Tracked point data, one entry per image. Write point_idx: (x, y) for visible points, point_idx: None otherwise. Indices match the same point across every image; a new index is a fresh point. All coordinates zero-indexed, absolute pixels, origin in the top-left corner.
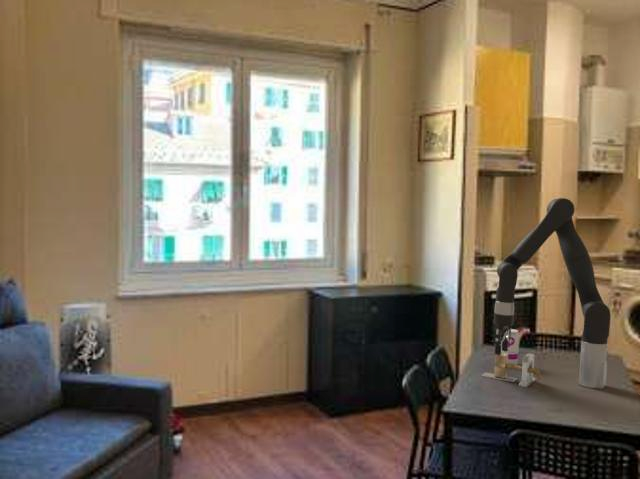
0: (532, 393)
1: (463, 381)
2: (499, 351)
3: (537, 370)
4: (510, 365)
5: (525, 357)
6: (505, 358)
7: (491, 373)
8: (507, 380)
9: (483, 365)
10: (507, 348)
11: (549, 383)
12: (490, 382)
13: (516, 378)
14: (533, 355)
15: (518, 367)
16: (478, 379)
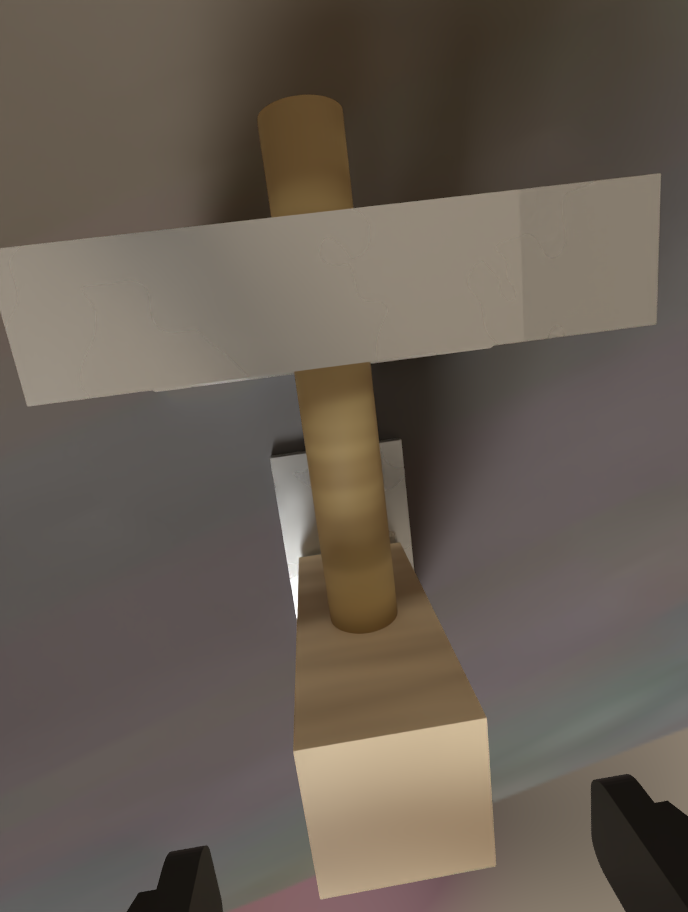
0: (646, 123)
1: (672, 725)
2: (677, 851)
3: (340, 133)
4: (386, 560)
5: (651, 251)
6: (448, 681)
7: None
8: (406, 498)
9: (69, 871)
10: (170, 905)
11: (120, 122)
12: (554, 579)
13: (285, 462)
14: (104, 246)
15: (375, 446)
16: (537, 684)
